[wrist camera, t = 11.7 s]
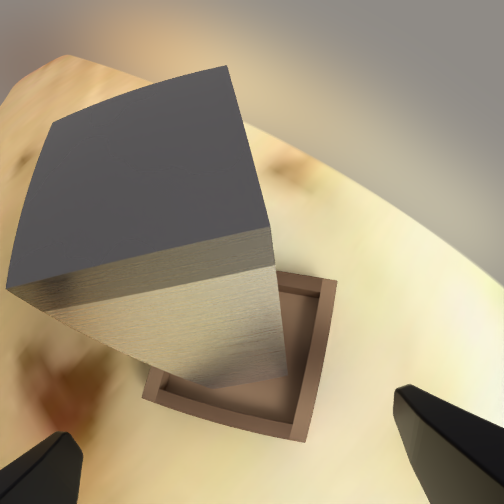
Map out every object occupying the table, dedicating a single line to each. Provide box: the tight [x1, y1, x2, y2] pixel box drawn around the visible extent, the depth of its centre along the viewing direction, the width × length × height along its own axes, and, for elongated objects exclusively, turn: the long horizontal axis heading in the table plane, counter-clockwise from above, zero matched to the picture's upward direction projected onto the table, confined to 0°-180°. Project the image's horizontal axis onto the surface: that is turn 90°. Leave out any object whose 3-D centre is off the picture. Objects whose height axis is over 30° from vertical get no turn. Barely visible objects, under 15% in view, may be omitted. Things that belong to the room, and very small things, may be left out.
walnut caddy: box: [142, 271, 337, 443], centre depth 17 cm, size 9×9×2 cm
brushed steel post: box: [6, 66, 288, 389], centre depth 11 cm, size 4×4×14 cm
